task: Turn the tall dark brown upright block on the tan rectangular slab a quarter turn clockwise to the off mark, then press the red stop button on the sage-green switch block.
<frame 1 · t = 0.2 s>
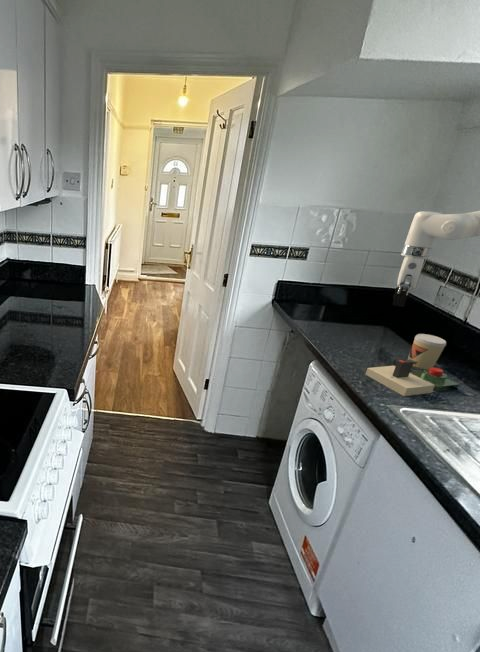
hand: (398, 302, 141), 26 cm above the counter, tool pointing down, fingers open, 9 cm apart
tan rectangular slab: (397, 383, 141), on the counter
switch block: (431, 383, 143), on the counter
dark brown upright block: (403, 368, 139), point 6 cm above the counter, hinge at 90.0°
stop button: (435, 371, 141), point 4 cm above the counter, slide at 0.1 cm
coffee cup: (417, 368, 155), on the counter
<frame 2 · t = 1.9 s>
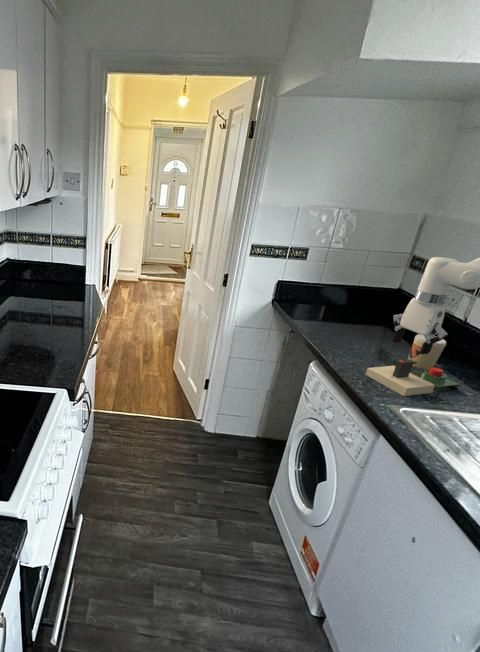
hand: (409, 347, 136), 13 cm above the counter, tool pointing down, fingers open, 9 cm apart
nothing on the counter moved.
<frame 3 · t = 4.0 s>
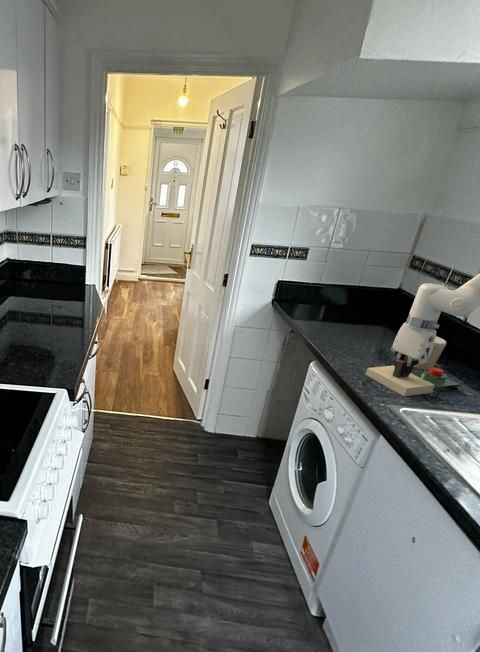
hand: (401, 373, 140), 4 cm above the counter, tool pointing down, fingers closed on dark brown upright block, 2 cm apart
dark brown upright block: (403, 368, 139), point 6 cm above the counter, hinge at 90.0°, touching gripper
everything else where it was.
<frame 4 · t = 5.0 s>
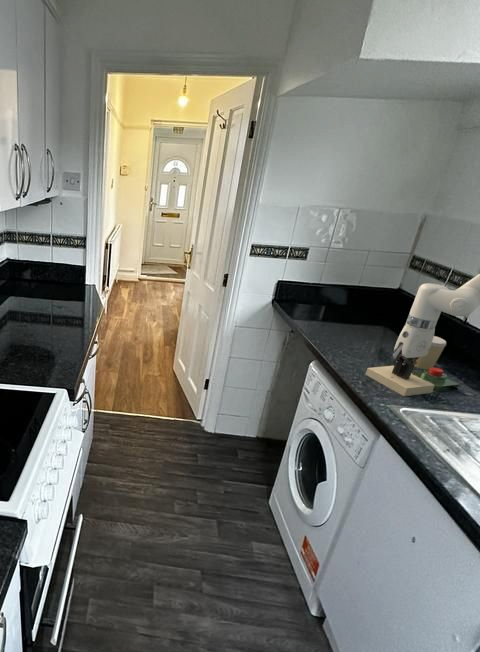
hand: (401, 373, 140), 4 cm above the counter, tool pointing down, fingers closed on dark brown upright block, 2 cm apart
dark brown upright block: (403, 368, 139), point 6 cm above the counter, hinge at 0.1°, touching gripper
everything else where it was.
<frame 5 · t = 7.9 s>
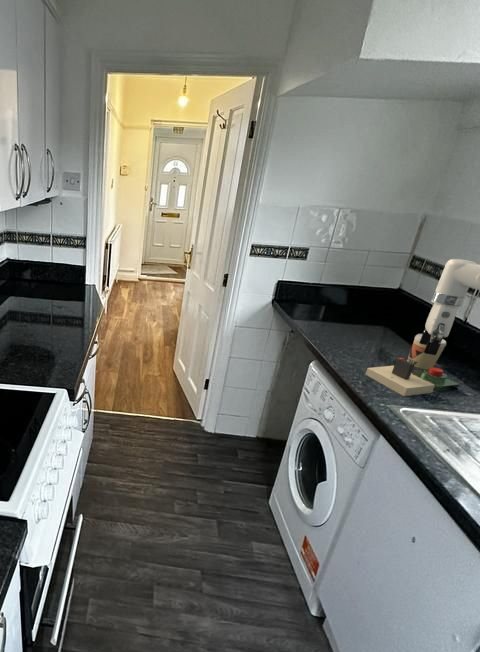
hand: (427, 349, 137), 13 cm above the counter, tool pointing down, fingers open, 9 cm apart
dark brown upright block: (403, 368, 139), point 6 cm above the counter, hinge at -0.2°
everything else where it was.
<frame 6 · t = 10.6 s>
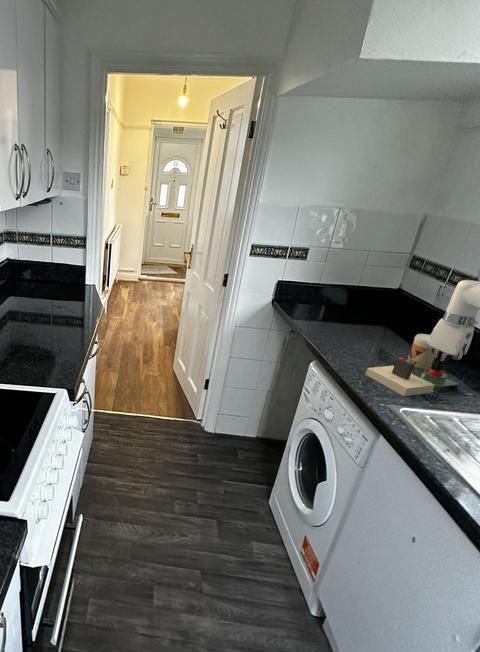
hand: (436, 369, 141), 5 cm above the counter, tool pointing down, fingers closed
stop button: (435, 372, 141), point 4 cm above the counter, slide at 0.0 cm, touching gripper
everything else where it was.
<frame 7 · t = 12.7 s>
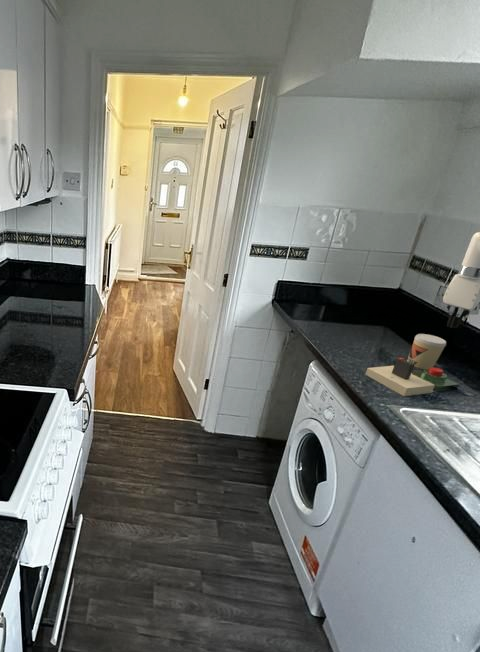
hand: (452, 327, 138), 20 cm above the counter, tool pointing down, fingers closed
stop button: (435, 371, 141), point 4 cm above the counter, slide at 0.1 cm
everything else where it was.
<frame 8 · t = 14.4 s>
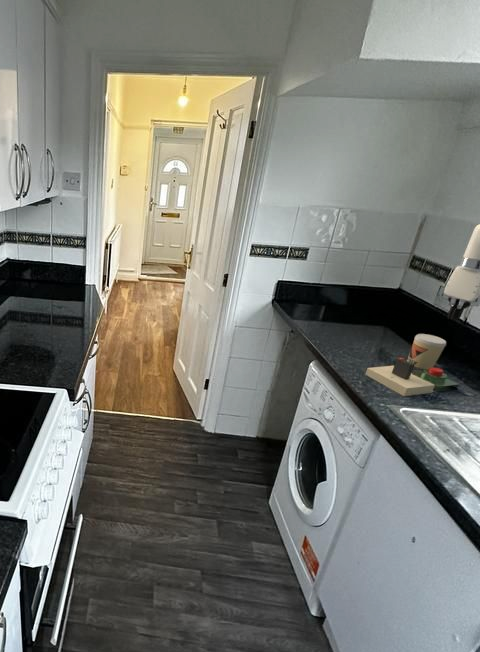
hand: (452, 318, 139), 22 cm above the counter, tool pointing down, fingers closed
nothing on the counter moved.
at the end: dark brown upright block at +0° (first picture: +90°); stop button pushed in 1.1 cm at the most during the clip, back to where it started at the end; stop button slide at 0.1 cm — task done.
